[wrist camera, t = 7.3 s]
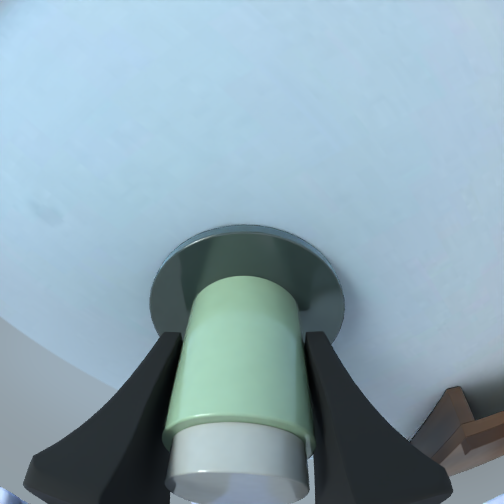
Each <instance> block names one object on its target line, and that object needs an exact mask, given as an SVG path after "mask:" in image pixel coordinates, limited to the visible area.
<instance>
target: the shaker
mask: <svg viewBox="0 0 504 504" xmlns="http://www.w3.org/2000/svg"><path fill="white" fill-rule="evenodd" d="M161 437H162V442H163V445H164V447H165V448H166V449H167V451H168V452H169V457H168V463H167V468H166V474H165V480H164V484H165V486H166V488H167V489H168V490H169V491H170V492H172V493H173V494H175V495H177V496H179V497H181V498H183V499H185V500H188V501H191V502H194V503H198V504H291V503H294V502H296V501H299V500H301V499H303V498H304V497H305V496H306V495H307V494H308V493H309V490H310V488H309V474H308V461H307V459H309V458H310V457H311V456H312V455H313V453H314V451H315V449H316V446H317V441H316V432H315V423H314V415H313V406H312V398H311V390H310V382H309V375H308V367H307V360H306V352H305V345H304V338H303V331H302V324H301V317H300V311H299V308H298V305H297V303H296V301H295V299H294V298H293V297H292V296H291V294H290V293H289V292H287V291H286V290H285V289H284V288H283V287H281V286H280V285H278V284H276V283H274V282H272V281H270V280H267V279H264V278H260V277H254V276H233V277H227V278H224V279H220V280H218V281H216V282H214V283H212V284H210V285H208V286H207V287H206V288H204V289H203V290H202V291H201V292H200V293H199V294H198V295H197V297H196V298H195V300H194V302H193V304H192V308H191V311H190V315H189V319H188V323H187V327H186V331H185V335H184V339H183V343H182V347H181V351H180V356H179V360H178V364H177V368H176V373H175V377H174V381H173V385H172V390H171V394H170V399H169V403H168V408H167V412H166V417H165V421H164V426H163V431H162V436H161Z"/></svg>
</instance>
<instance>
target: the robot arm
mask: <svg viewBox="0 0 504 504" xmlns="http://www.w3.org/2000/svg"><path fill="white" fill-rule="evenodd" d="M182 343H183V340H182V336H181V332H164V333H162V335H161V336H160V338H159V339H158V341H157V342H156V343H155V345H154V346H153V348H152V349H151V350H150V352H149V353H148V355H147V356H146V357H145V359H144V360H143V361H142V363H141V364H140V365H139V366H138V368H137V369H136V370H135V372H134V373H133V374H132V375H131V377H130V378H129V379H128V380H127V381H126V382H125V384H124V385H123V386H122V387H121V388H120V389H119V390H118V392H117V393H116V394H115V395H114V396H113V397H112V398H111V399H110V400H109V401H108V402H107V403H106V404H105V405H104V406H103V407H102V408H101V409H100V410H99V411H98V412H97V413H95V414H94V415H93V416H92V417H91V418H90V419H88V420H87V421H86V422H85V423H84V424H82V425H81V426H80V427H79V428H77V429H76V430H74V431H73V432H72V433H70V434H69V435H67V436H66V437H65V438H63V439H62V440H60V441H59V442H57V443H55V444H54V445H52V446H50V447H48V448H47V449H45V450H43V451H41V452H40V453H38V454H36V455H34V456H33V458H32V460H31V462H30V465H29V468H28V471H27V474H26V476H25V479H24V482H23V486H24V487H25V488H26V489H27V490H28V491H29V492H31V493H32V494H34V495H35V496H37V497H38V498H40V499H41V500H43V501H45V502H46V503H48V504H170V491H169V490H168V489H167V488H166V486H165V484H164V480H165V474H166V468H167V463H168V457H169V452H168V451H167V449H166V448H165V447H164V445H163V442H162V437H161V436H162V431H163V426H164V421H165V417H166V412H167V408H168V403H169V399H170V394H171V390H172V385H173V381H174V377H175V373H176V368H177V364H178V360H179V356H180V351H181V347H182ZM304 345H305V352H306V360H307V367H308V375H309V382H310V390H311V398H312V406H313V415H314V423H315V432H316V441H317V446H316V449H315V451H314V453H313V456H314V475H315V504H440V503H441V502H443V501H444V500H446V499H447V498H449V497H450V496H451V494H452V493H453V489H452V485H451V481H450V479H449V476H448V474H447V472H446V470H445V468H444V467H443V466H441V465H440V464H438V463H437V462H435V461H434V460H432V459H431V458H429V457H428V456H426V455H425V454H424V453H422V452H421V451H420V450H419V449H417V448H416V447H415V446H413V445H412V444H411V443H410V442H409V441H408V440H406V439H405V438H404V437H403V436H402V435H401V434H400V433H399V432H398V431H396V430H395V429H394V428H393V427H392V426H391V425H390V424H389V423H388V422H387V421H386V420H385V419H384V418H383V417H382V416H381V415H380V413H379V412H378V411H377V410H376V409H375V408H374V407H373V405H372V404H371V403H370V402H369V401H368V399H367V398H366V397H365V396H364V394H363V393H362V392H361V390H360V389H359V388H358V386H357V385H356V384H355V382H354V381H353V379H352V378H351V376H350V375H349V373H348V372H347V370H346V369H345V367H344V366H343V364H342V363H341V361H340V359H339V358H338V356H337V354H336V353H335V351H334V349H333V347H332V345H331V344H330V342H329V340H328V338H327V336H326V334H325V333H324V332H323V331H315V332H306V336H305V344H304ZM0 504H29V503H27V502H25V501H23V500H21V499H20V498H19V497H17V496H16V495H14V494H13V493H11V492H9V491H8V490H6V489H4V488H2V487H0ZM191 504H198V503H194V502H191ZM483 504H504V493H503V494H501V495H499V496H497V497H495V498H493V499H491V500H489V501H487V502H485V503H483Z"/></svg>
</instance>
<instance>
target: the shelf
mask: <svg viewBox="0 0 504 504" xmlns="http://www.w3.org/2000/svg"><path fill="white" fill-rule="evenodd" d="M410 443H411V444H412V445H413V446H415V447H416V448H417V449H419V450H420V451H421V452H422V453H424V454H425V455H426V456H428V457H429V458H431V459H432V460H434V461H435V462H437V463H438V464H440V465H441V466H443V467H444V468H445V470H446V472H447V474H448V476H452V475H455V474H458V473H461V472H464V471H466V470H469V469H472V468H474V467H477V466H479V465H482V464H484V463H487V462H489V461H491V460H494V459H496V458H498V457H500V456H503V455H504V411H501V412H498V413H496V414H493V415H490V416H487V417H484V418H482V419H479V420H475V419H474V417H473V414H472V412H471V409H470V407H469V405H468V402H467V400H466V398H465V396H464V393H463V391H462V389H461V387H460V386H459V387H455V388H451V389H447V390H446V392H445V393H444V395H443V396H442V398H441V400H440V401H439V403H438V404H437V406H436V407H435V409H434V410H433V411H432V413H431V414H430V416H429V417H428V419H427V420H426V421H425V423H424V424H423V426H422V427H421V428H420V430H419V431H418V432H417V434H416V435H415V436H414V438H413V439H412V440H411V442H410Z"/></svg>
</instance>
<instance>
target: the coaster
mask: <svg viewBox="0 0 504 504" xmlns="http://www.w3.org/2000/svg"><path fill="white" fill-rule="evenodd" d="M233 276H254V277H260V278H264V279H267V280H270V281H272V282H274V283H276V284H278V285H280V286H281V287H283V288H284V289H285V290H286V291H287V292H289V293H290V294H291V296H292V297H293V298H294V299H295V301H296V303H297V305H298V308H299V311H300V317H301V324H302V331H303V338H304V344H305V336H306V332H315V331H323V332H324V333H325V334H326V336H327V338H328V340H329V342H330V344H332V343H333V341H334V340H335V338H336V337H337V335H338V333H339V331H340V329H341V325H342V322H343V319H344V311H345V303H344V295H343V291H342V287H341V285H340V282H339V279H338V277H337V275H336V272H335V271H334V269H333V267H332V266H331V264H330V263H329V262H328V260H327V259H326V258H325V257H324V256H323V255H322V254H321V253H320V252H319V251H318V250H317V249H315V248H314V247H313V246H312V245H310V244H309V243H307V242H305V241H304V240H302V239H301V238H299V237H296V236H294V235H292V234H290V233H287V232H284V231H281V230H278V229H274V228H270V227H264V226H257V225H234V226H226V227H221V228H216V229H212V230H209V231H206V232H203V233H201V234H198V235H196V236H194V237H192V238H190V239H188V240H187V241H185V242H184V243H182V244H181V245H180V246H178V247H177V248H176V249H175V250H174V251H173V252H172V253H171V254H170V255H169V256H168V257H167V258H166V260H165V261H164V262H163V263H162V265H161V267H160V269H159V271H158V272H157V275H156V277H155V279H154V282H153V285H152V288H151V293H150V312H151V318H152V321H153V324H154V327H155V329H156V331H157V333H158V335H159V336H161V335H162V333H164V332H181V336H182V340H183V339H184V335H185V331H186V327H187V323H188V319H189V315H190V311H191V308H192V304H193V302H194V300H195V298H196V297H197V295H198V294H199V293H200V292H201V291H202V290H203V289H204V288H206V287H207V286H208V285H210V284H212V283H214V282H216V281H218V280H220V279H224V278H227V277H233Z"/></svg>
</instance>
